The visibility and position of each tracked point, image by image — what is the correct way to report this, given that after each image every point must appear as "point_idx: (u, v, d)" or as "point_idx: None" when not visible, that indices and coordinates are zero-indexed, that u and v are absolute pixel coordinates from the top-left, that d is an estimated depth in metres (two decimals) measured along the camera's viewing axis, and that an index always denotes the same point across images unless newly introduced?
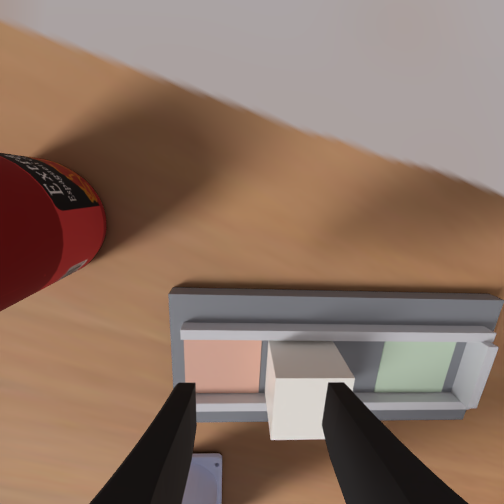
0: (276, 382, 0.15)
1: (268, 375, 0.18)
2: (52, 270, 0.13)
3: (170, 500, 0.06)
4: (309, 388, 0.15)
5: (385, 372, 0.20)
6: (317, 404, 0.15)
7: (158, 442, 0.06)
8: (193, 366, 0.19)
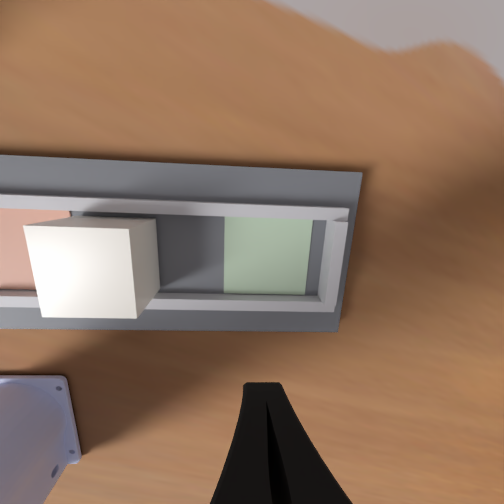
0: (26, 232, 0.12)
1: None
2: None
3: None
4: (72, 242, 0.12)
5: (232, 266, 0.17)
6: (89, 267, 0.12)
7: (253, 440, 0.06)
8: None
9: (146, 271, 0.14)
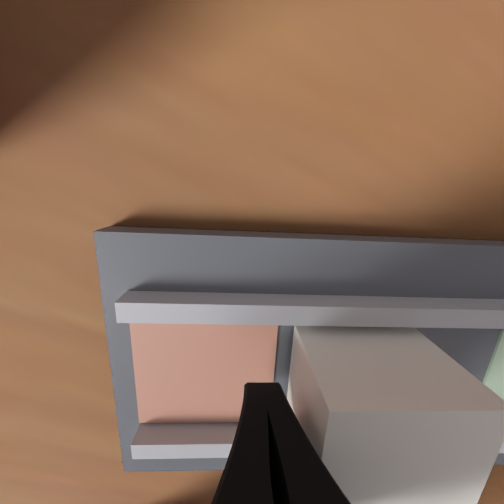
0: (330, 421, 0.06)
1: (296, 394, 0.09)
2: None
3: None
4: (408, 433, 0.06)
5: (494, 386, 0.11)
6: (419, 469, 0.07)
7: (254, 440, 0.06)
8: (151, 375, 0.10)
9: None
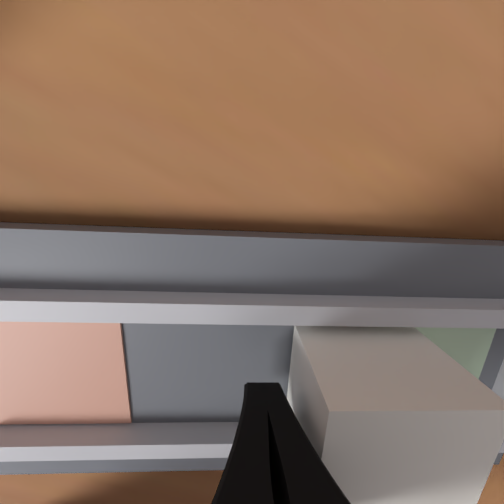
0: (330, 420, 0.06)
1: (296, 394, 0.09)
2: None
3: None
4: (408, 433, 0.06)
5: None
6: (419, 469, 0.07)
7: (255, 440, 0.06)
8: None
9: None
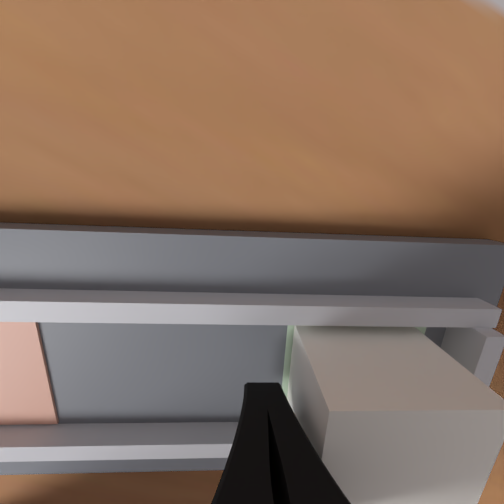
0: (330, 420, 0.06)
1: (296, 394, 0.09)
2: None
3: None
4: (408, 433, 0.06)
5: None
6: (419, 468, 0.07)
7: (255, 441, 0.06)
8: None
9: None
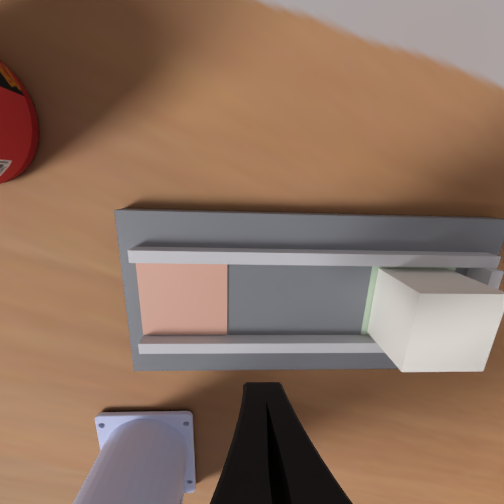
0: (419, 299, 0.13)
1: (383, 307, 0.16)
2: None
3: None
4: (456, 306, 0.13)
5: None
6: (461, 328, 0.13)
7: (253, 440, 0.06)
8: (150, 302, 0.17)
9: None
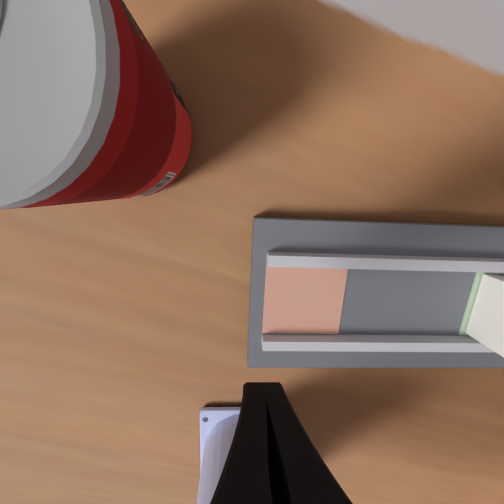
0: None
1: (491, 309, 0.17)
2: (164, 159, 0.12)
3: None
4: None
5: None
6: None
7: (253, 440, 0.06)
8: (272, 303, 0.18)
9: None
